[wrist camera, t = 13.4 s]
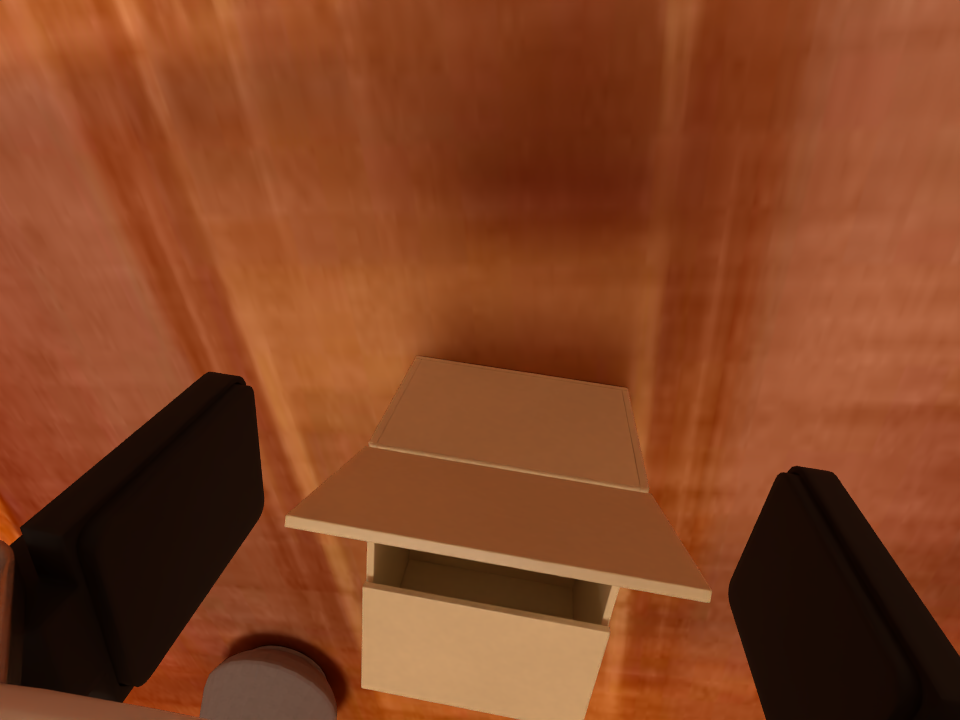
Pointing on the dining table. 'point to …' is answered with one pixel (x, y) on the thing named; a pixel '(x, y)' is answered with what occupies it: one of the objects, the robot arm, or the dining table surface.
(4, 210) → the dining table surface
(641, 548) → the flap
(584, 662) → the carton
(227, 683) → the coffee pot
